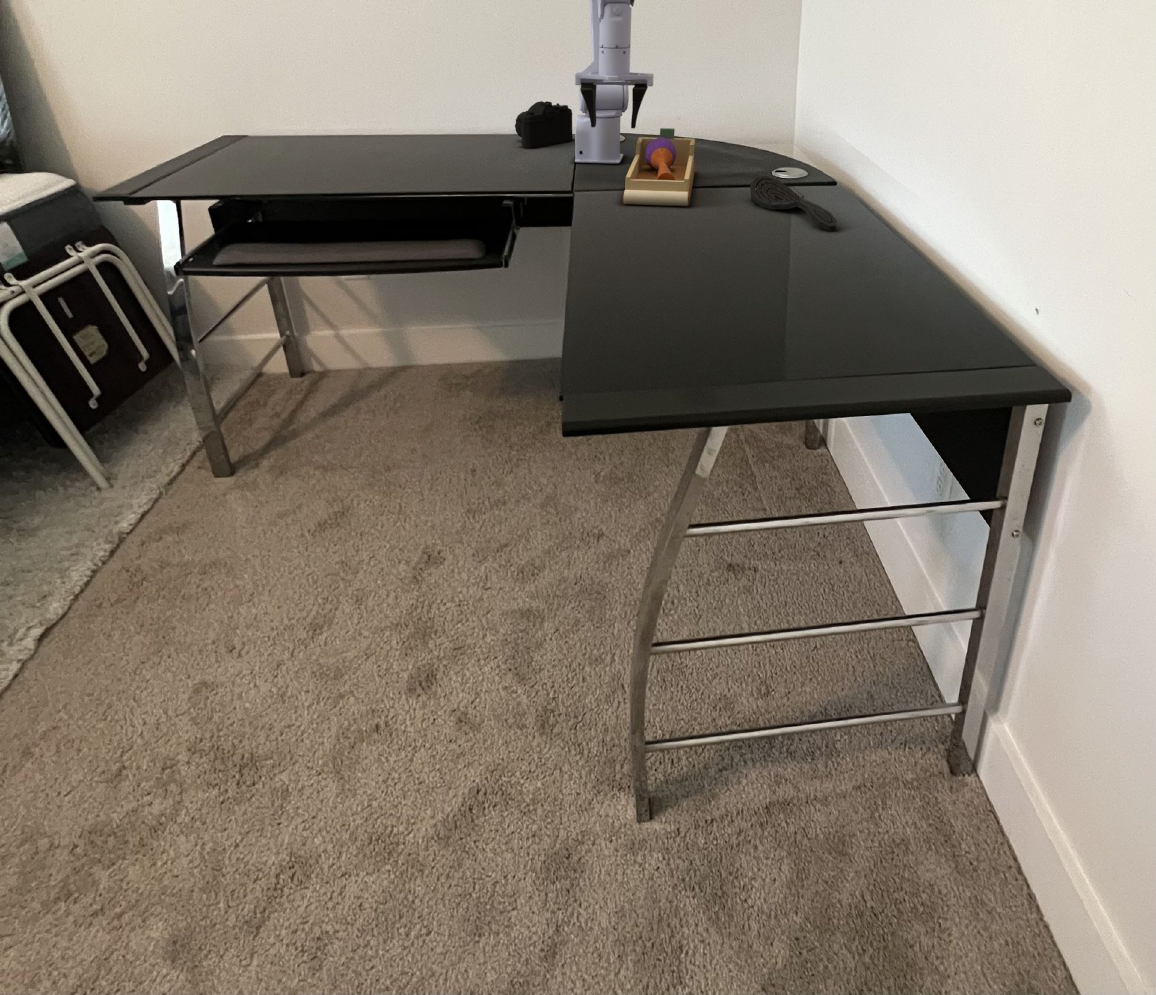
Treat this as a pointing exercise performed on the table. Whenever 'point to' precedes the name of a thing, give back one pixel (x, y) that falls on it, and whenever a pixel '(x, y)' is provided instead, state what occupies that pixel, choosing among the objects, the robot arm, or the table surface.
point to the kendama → (661, 157)
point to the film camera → (544, 125)
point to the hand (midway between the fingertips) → (613, 127)
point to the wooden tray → (644, 178)
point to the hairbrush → (788, 200)
